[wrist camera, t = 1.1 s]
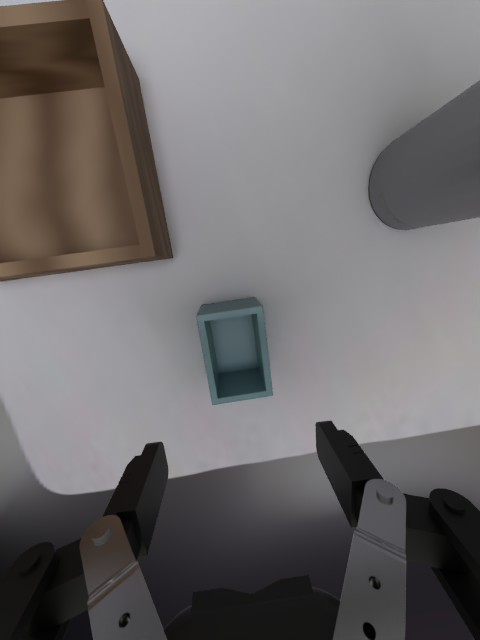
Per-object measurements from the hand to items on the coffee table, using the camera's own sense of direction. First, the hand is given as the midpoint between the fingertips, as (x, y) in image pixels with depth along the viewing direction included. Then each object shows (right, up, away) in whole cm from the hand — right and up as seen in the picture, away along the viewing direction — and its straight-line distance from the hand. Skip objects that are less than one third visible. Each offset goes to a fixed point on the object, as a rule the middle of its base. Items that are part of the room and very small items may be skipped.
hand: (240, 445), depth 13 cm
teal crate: (-1, +4, +16) cm, 17 cm away
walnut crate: (-17, +20, +11) cm, 28 cm away
